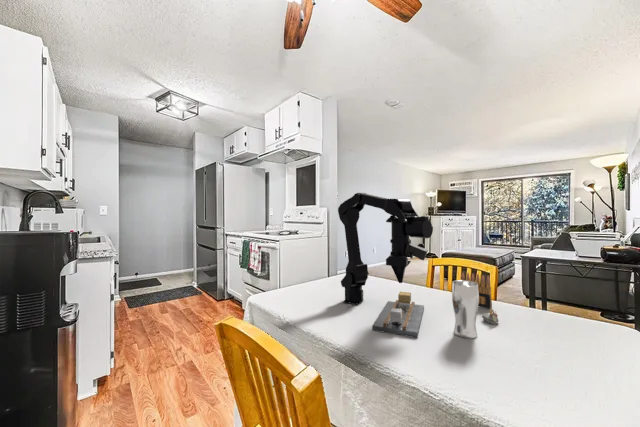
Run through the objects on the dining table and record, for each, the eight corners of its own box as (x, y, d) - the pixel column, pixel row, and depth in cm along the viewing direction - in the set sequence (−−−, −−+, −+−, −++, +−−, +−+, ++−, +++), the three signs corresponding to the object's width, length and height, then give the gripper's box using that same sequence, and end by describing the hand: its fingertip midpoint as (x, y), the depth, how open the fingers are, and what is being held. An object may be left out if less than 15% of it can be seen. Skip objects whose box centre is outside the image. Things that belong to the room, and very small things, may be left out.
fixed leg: (390, 325, 86) (390, 311, 86) (392, 322, 89) (392, 308, 88) (400, 327, 85) (400, 312, 85) (402, 323, 87) (402, 309, 87)
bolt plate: (372, 330, 86) (372, 322, 86) (388, 305, 108) (388, 298, 108) (417, 337, 80) (417, 329, 80) (424, 309, 103) (424, 302, 103)
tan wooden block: (398, 303, 103) (398, 294, 103) (400, 300, 106) (400, 291, 106) (409, 304, 101) (409, 295, 101) (411, 301, 105) (411, 292, 105)
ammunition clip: (492, 307, 105) (491, 275, 104) (490, 308, 103) (490, 276, 103) (461, 301, 112) (461, 271, 112) (459, 302, 111) (459, 271, 111)
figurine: (478, 318, 94) (480, 301, 93) (491, 318, 94) (493, 301, 93) (488, 327, 88) (491, 309, 88) (502, 327, 89) (504, 309, 88)
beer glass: (476, 330, 85) (476, 280, 84) (481, 341, 78) (481, 286, 78) (450, 327, 87) (450, 279, 87) (453, 337, 80) (453, 284, 80)
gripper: (423, 239, 83) (424, 292, 83) (427, 234, 100) (428, 278, 100) (385, 238, 87) (385, 288, 87) (395, 233, 104) (395, 276, 104)
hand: (400, 282), depth 95 cm, fingers closed
